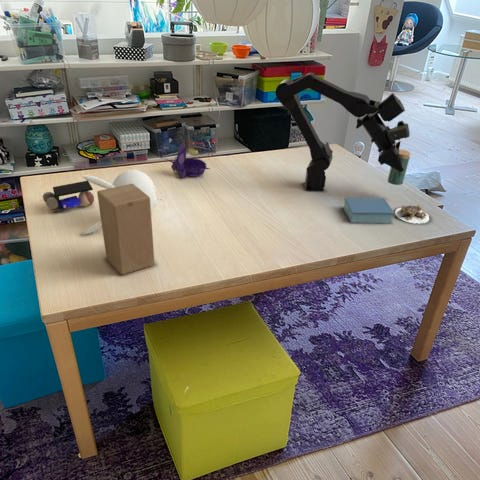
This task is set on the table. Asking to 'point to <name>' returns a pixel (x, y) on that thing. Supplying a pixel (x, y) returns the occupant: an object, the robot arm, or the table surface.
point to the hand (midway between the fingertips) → (402, 168)
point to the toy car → (83, 198)
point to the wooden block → (127, 228)
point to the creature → (187, 164)
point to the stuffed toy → (124, 179)
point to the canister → (397, 176)
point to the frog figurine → (412, 214)
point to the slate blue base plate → (368, 210)
